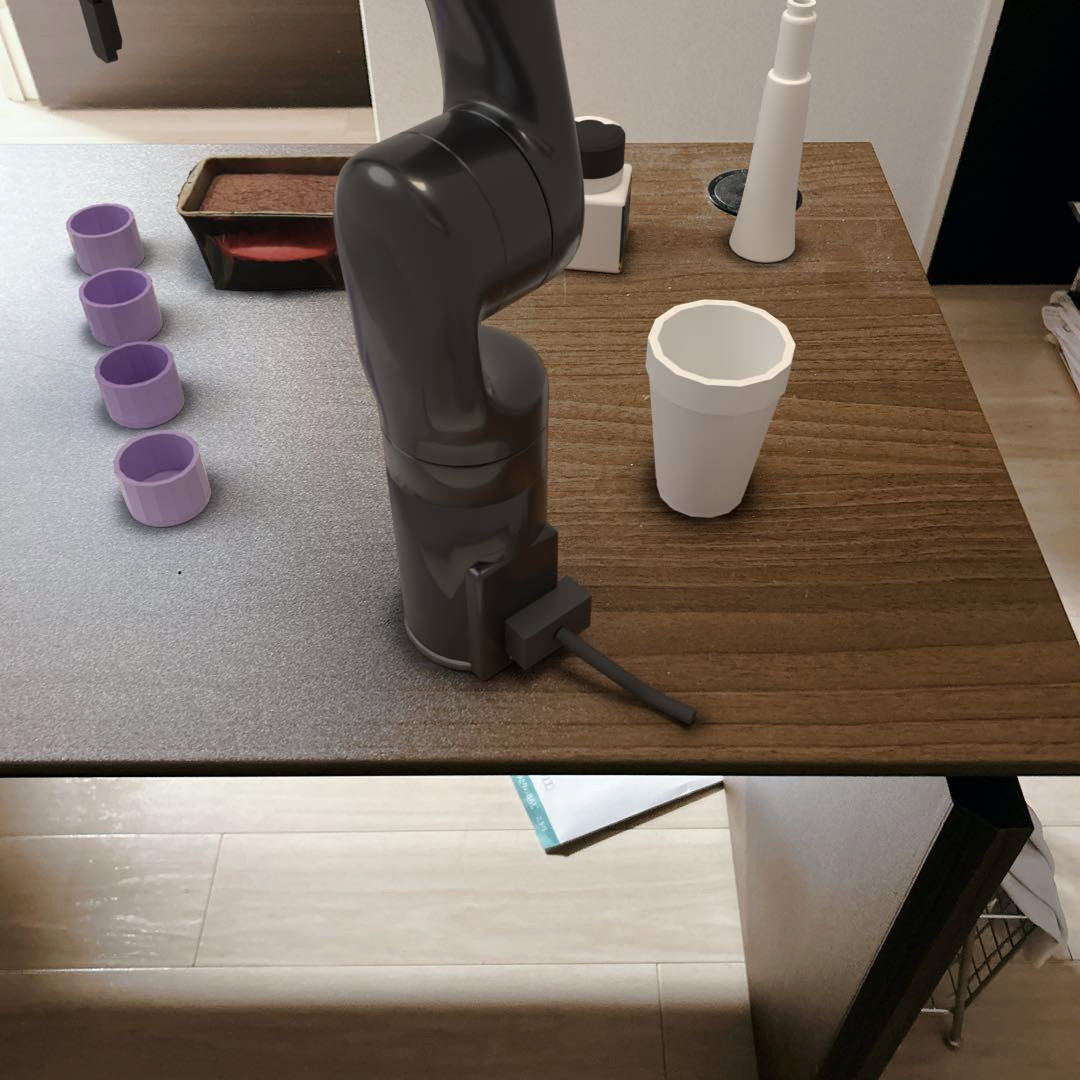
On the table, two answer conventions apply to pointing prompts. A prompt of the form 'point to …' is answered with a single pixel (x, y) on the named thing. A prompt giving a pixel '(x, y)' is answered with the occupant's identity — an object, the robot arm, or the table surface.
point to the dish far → (105, 238)
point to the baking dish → (265, 219)
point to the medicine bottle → (603, 195)
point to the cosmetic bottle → (778, 145)
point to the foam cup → (713, 399)
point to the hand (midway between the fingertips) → (42, 77)
